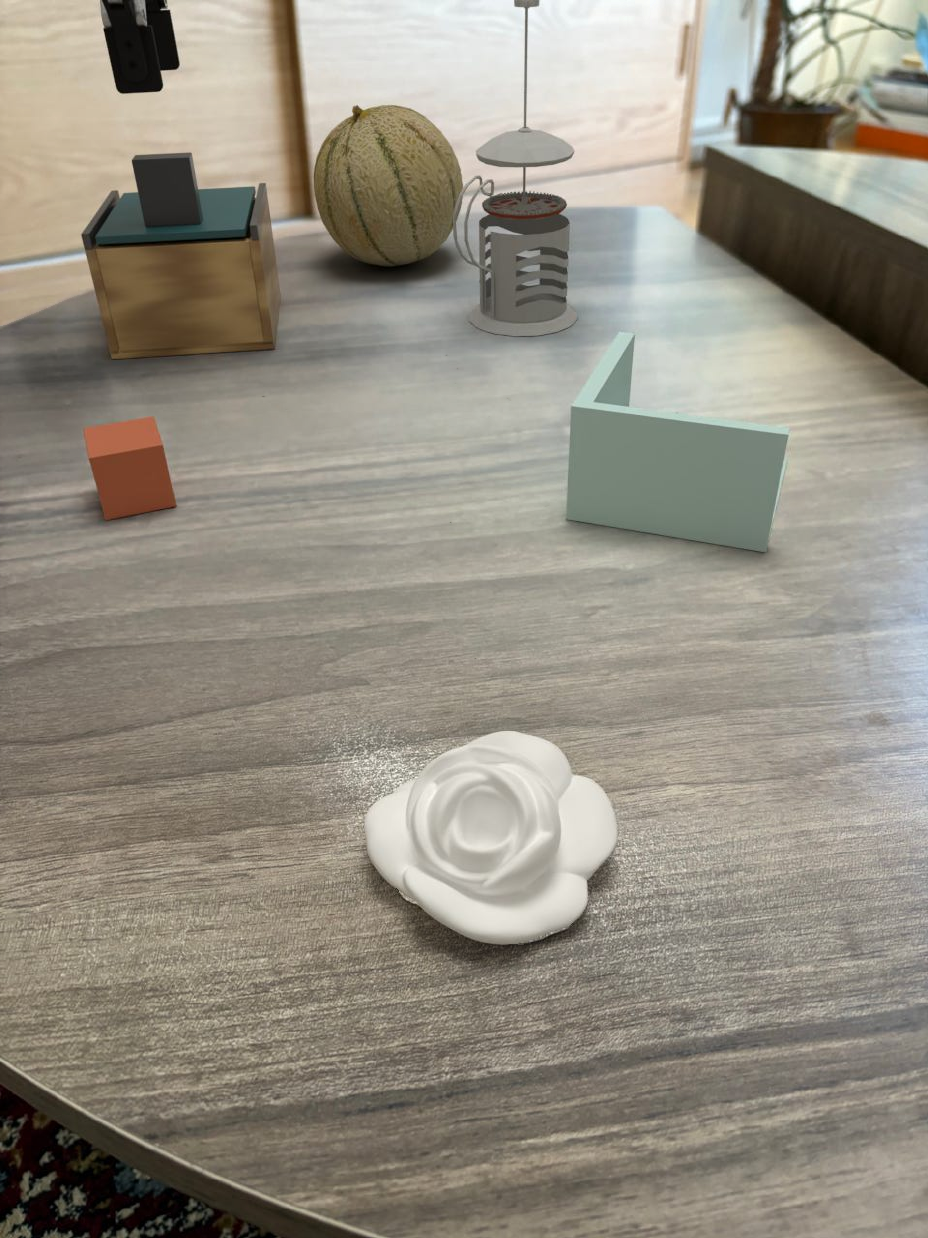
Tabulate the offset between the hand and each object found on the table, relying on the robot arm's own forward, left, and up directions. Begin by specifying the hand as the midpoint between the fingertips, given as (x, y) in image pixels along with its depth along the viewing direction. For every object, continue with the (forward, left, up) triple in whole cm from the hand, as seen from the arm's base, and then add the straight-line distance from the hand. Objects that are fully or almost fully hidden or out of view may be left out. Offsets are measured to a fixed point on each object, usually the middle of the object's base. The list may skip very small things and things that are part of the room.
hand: (150, 80), depth 74 cm
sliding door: (0, +4, -11) cm, 12 cm away
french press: (+28, +1, -20) cm, 34 cm away
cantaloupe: (+18, +19, -20) cm, 33 cm away
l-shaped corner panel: (+34, -31, -20) cm, 50 cm away
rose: (+18, -59, -20) cm, 65 cm away
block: (-1, -27, -20) cm, 34 cm away
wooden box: (0, +4, -20) cm, 21 cm away
